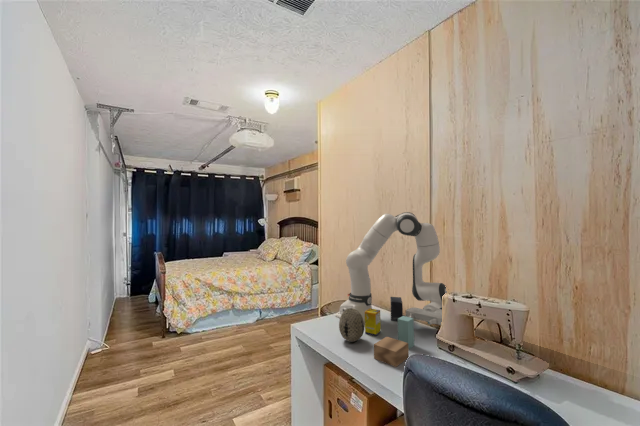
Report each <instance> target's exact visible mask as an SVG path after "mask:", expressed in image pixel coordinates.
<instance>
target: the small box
mask: <svg viewBox="0 0 640 426" xmlns="http://www.w3.org/2000/svg"><path fill="white" fill-rule="evenodd" d="M403 308H404V306H403V300H402V297H399V296H390V321H395V322H398V318H400V317H402V316H404V315H403V314H404V313H403V312H404V311H403Z"/></svg>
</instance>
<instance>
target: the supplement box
mask: <svg viewBox="0 0 640 426" xmlns="http://www.w3.org/2000/svg"><path fill="white" fill-rule="evenodd" d="M381 325H382V324H381V310H380V309H376V308H372V309H371V308H369V309H368V310H366V311H365V323H364V334H365V335H370V336H373V337H377V336H378V335H379V334H380V333H381V331H382V329H381V327H382V326H381Z"/></svg>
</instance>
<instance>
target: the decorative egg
mask: <svg viewBox="0 0 640 426" xmlns="http://www.w3.org/2000/svg"><path fill="white" fill-rule="evenodd" d="M338 329H339V332H340V333H339V334H340V336H341V337H342V338H343V339H344V340H346V341H348V342H351V343H353V342H357V341H359V340H361V338H362V337H363V336H364V334H365V323H364V321H363V318H362V315H361V314H360V313H359V311H357V310H356V309H354V308H349V309H346V310H345V311H344V312H343V313H342V315H341V317H340V318H339V321H338Z"/></svg>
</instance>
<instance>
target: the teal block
mask: <svg viewBox="0 0 640 426" xmlns="http://www.w3.org/2000/svg"><path fill="white" fill-rule="evenodd" d="M414 320H415V319H413V318H410V317H406V315H403V316H402V317H400V318H398V321H397V340H400V341H403V342H406V343H408V349H409V350H410V349H412V348H413V347H414V346H415V327H414V325H415V324H414Z"/></svg>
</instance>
